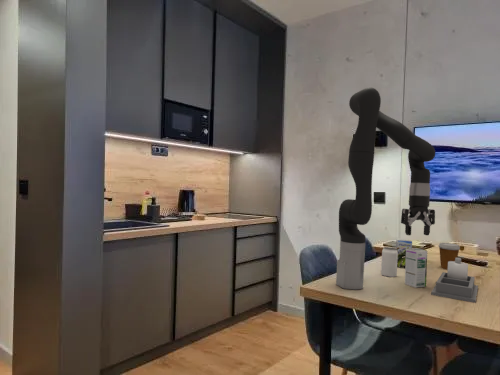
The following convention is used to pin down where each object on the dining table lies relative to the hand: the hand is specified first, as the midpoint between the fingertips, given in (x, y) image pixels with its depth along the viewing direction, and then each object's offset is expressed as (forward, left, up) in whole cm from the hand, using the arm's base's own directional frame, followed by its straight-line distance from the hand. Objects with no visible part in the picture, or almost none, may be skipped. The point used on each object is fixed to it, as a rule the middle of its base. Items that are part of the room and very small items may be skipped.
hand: (417, 235), depth 151 cm
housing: (+11, -9, -20) cm, 25 cm away
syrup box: (0, 0, -20) cm, 20 cm away
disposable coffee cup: (+40, +27, -20) cm, 52 cm away
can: (-1, +16, -20) cm, 26 cm away
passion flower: (+19, +33, -20) cm, 43 cm away
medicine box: (+39, +60, -20) cm, 74 cm away
